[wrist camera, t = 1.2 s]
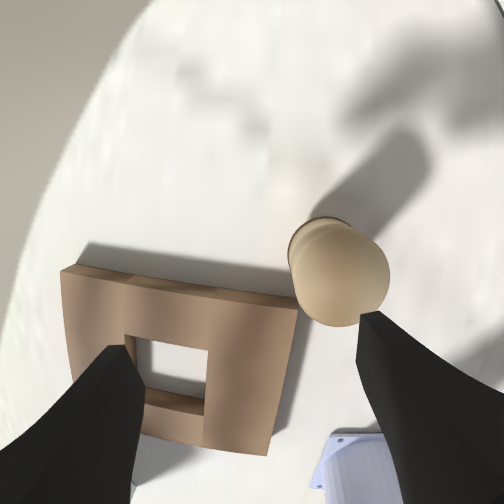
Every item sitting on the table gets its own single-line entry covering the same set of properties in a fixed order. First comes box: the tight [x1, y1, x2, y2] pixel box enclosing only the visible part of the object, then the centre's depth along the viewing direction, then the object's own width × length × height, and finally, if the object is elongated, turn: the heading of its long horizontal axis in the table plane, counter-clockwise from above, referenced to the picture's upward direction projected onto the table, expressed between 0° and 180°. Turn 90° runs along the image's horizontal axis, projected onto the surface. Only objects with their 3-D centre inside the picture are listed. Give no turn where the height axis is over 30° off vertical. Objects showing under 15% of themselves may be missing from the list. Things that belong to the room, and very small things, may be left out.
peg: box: [287, 217, 390, 327], centre depth 17 cm, size 4×4×7 cm
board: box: [60, 264, 298, 456], centre depth 22 cm, size 16×13×2 cm
